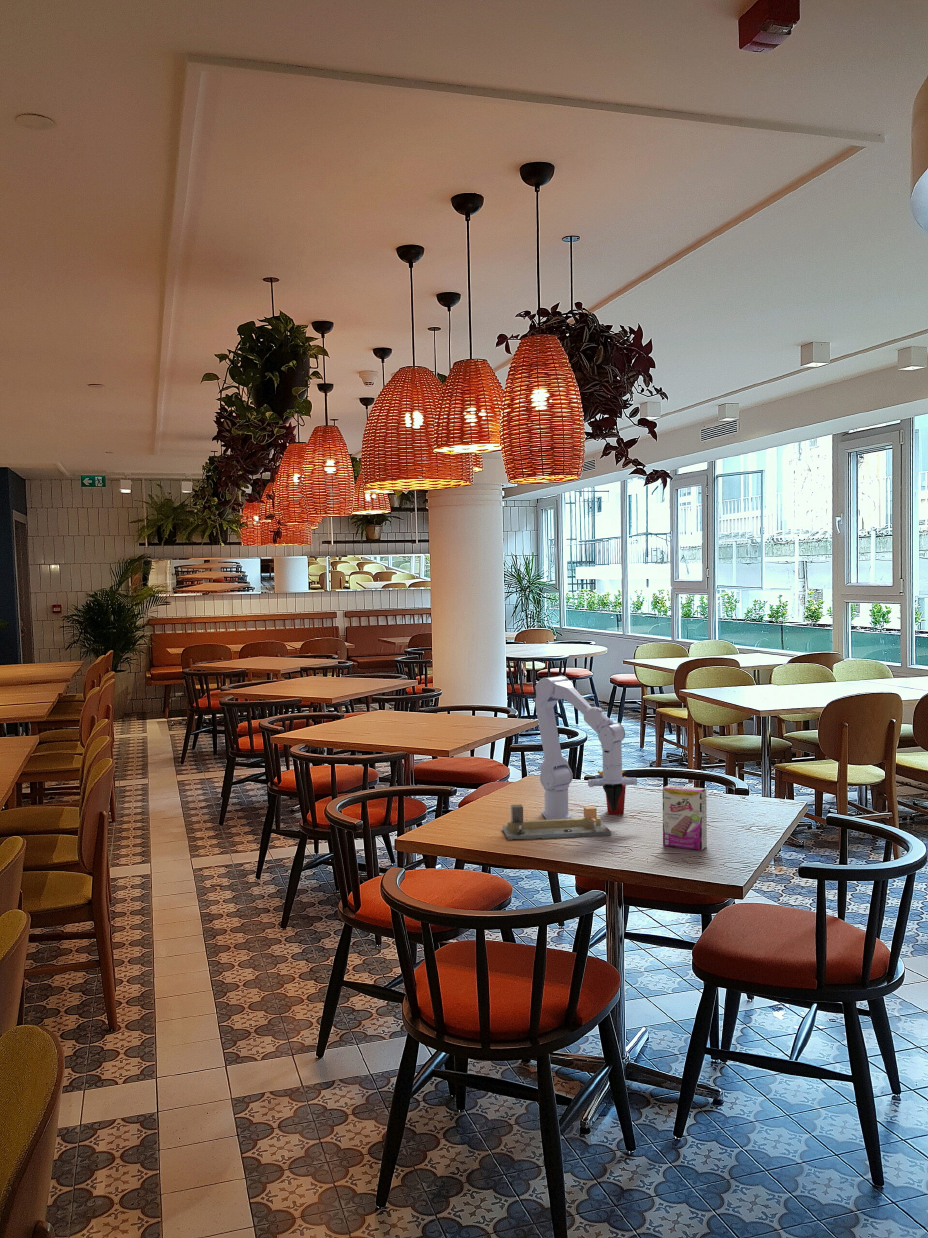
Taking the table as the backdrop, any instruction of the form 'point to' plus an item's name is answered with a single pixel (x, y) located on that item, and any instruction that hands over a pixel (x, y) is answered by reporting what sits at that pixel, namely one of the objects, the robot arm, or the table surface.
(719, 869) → the table surface
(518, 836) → the bolt plate
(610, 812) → the french fries
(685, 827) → the candy bar box
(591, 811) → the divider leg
